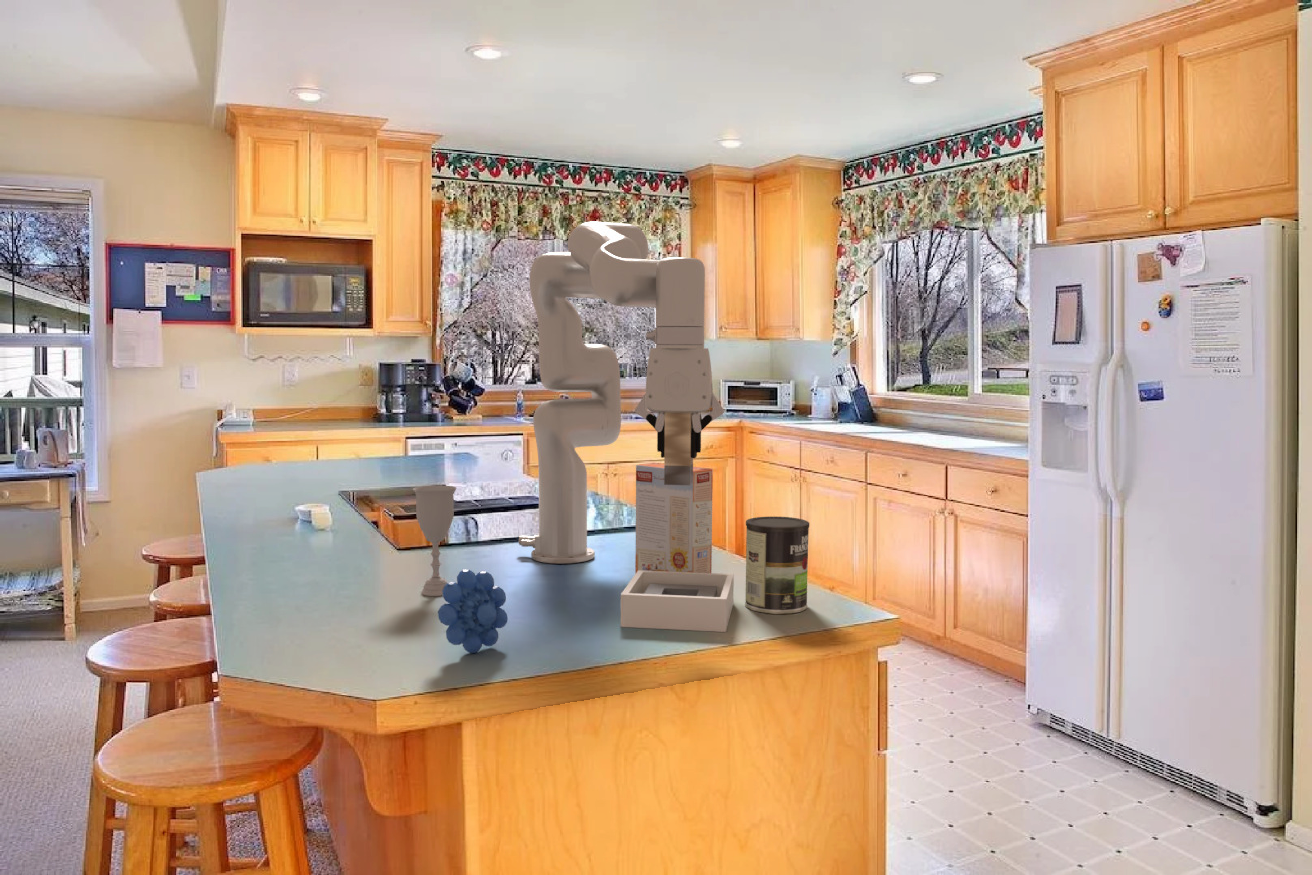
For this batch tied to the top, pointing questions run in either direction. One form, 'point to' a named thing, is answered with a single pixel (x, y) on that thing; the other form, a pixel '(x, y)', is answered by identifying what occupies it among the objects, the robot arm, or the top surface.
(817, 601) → the top surface
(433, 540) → the chalice
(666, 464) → the peg
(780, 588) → the coffee can
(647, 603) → the walled box
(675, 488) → the cracker box
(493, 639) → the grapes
